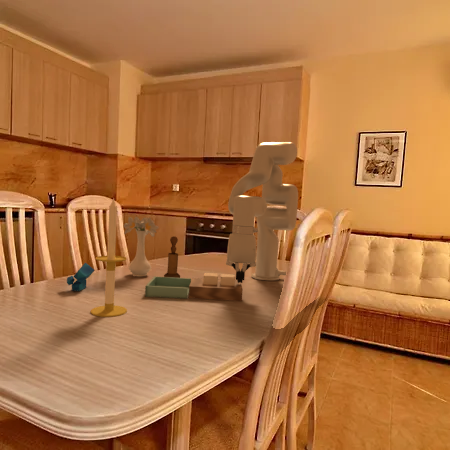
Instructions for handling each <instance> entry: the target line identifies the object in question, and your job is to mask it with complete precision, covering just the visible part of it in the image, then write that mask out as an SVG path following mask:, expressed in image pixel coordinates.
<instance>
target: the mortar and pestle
mask: <svg viewBox="0 0 450 450" xmlns="http://www.w3.org/2000/svg"><path fill="white" fill-rule="evenodd" d="M169 240H170V241H169V242H170V244H171V246H170V252H168V256H167V258H168V260H167V272H166V273H165V274H163V277H174V278H181V275H180V273H178V262H179V253H177V252H176V251H177V247H176V244H178V241H179V239H178V237H177V236H171V237H170V239H169Z"/></svg>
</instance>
